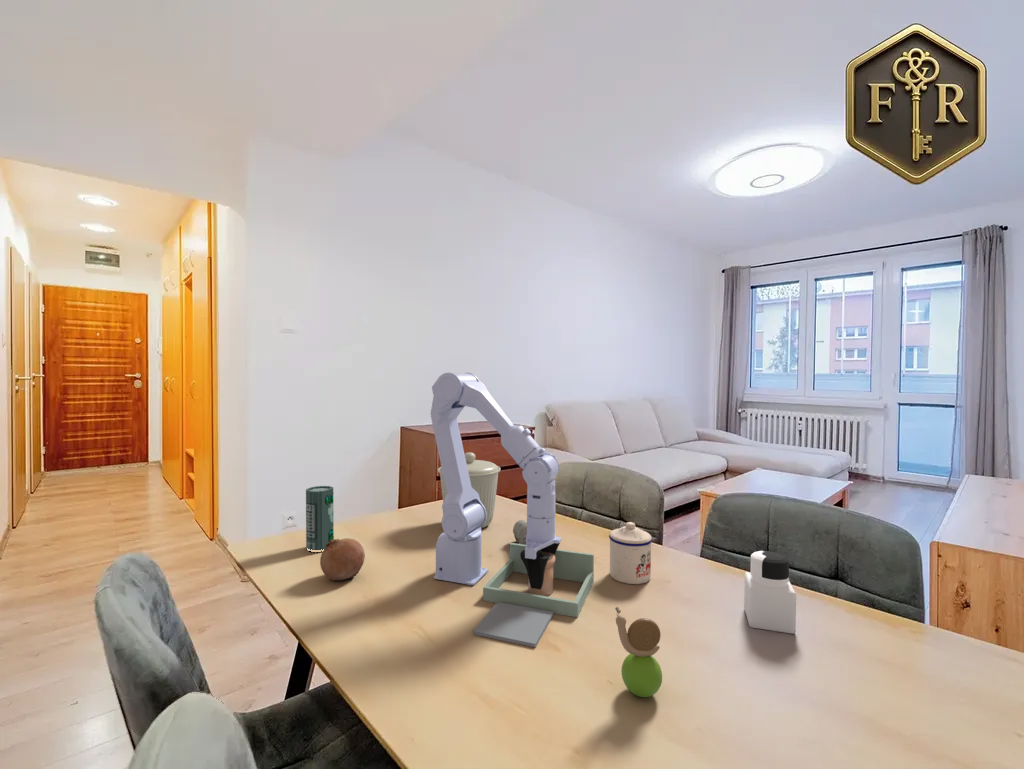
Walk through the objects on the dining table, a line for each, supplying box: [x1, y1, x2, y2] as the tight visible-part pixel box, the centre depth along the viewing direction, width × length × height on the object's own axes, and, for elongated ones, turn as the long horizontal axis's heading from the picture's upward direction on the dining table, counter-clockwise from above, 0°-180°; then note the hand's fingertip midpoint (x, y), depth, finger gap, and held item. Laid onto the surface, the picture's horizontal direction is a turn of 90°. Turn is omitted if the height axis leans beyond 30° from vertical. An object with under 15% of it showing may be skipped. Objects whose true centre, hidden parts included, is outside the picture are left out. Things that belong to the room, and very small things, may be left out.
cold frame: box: [482, 542, 595, 619], centre depth 97 cm, size 19×16×6 cm
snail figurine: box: [615, 606, 663, 698], centre depth 66 cm, size 5×6×12 cm
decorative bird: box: [512, 519, 527, 545], centre depth 118 cm, size 6×17×8 cm, turn 22°
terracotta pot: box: [527, 551, 555, 597], centre depth 97 cm, size 6×6×7 cm
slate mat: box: [472, 602, 555, 648], centre depth 84 cm, size 11×11×1 cm
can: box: [305, 485, 335, 550], centre depth 120 cm, size 6×6×15 cm
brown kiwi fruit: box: [319, 537, 366, 582], centre depth 103 cm, size 9×9×10 cm
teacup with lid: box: [608, 521, 653, 585], centre depth 105 cm, size 12×9×12 cm
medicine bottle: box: [743, 550, 797, 635], centre depth 85 cm, size 7×7×12 cm
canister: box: [437, 451, 501, 529], centre depth 138 cm, size 18×18×21 cm
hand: (540, 581), depth 97 cm, fingers closed on terracotta pot, 6 cm apart
